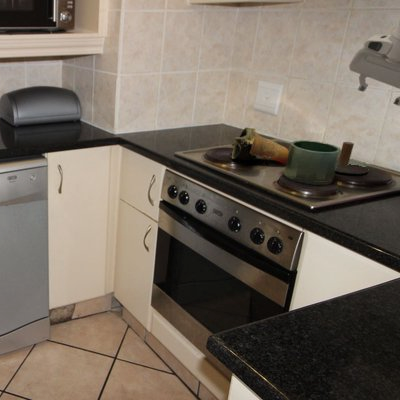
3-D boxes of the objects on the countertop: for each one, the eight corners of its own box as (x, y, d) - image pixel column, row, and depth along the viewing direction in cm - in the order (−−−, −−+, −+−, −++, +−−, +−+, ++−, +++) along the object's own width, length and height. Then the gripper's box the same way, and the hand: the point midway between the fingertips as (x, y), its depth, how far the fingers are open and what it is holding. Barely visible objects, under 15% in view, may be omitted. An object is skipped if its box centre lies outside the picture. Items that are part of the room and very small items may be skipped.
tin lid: (372, 169, 148) (380, 143, 145) (359, 179, 139) (367, 152, 136) (325, 159, 157) (331, 134, 154) (310, 167, 148) (316, 142, 145)
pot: (304, 140, 141) (244, 119, 143) (288, 176, 142) (229, 154, 144) (284, 144, 158) (231, 125, 160) (270, 176, 159) (218, 156, 161)
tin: (338, 178, 140) (346, 147, 136) (323, 188, 132) (332, 155, 128) (293, 167, 148) (300, 138, 144) (276, 176, 140) (283, 145, 136)
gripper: (455, 60, 117) (424, 109, 126) (370, 32, 128) (347, 79, 138) (446, 67, 114) (414, 117, 123) (359, 38, 126) (337, 86, 135)
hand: (378, 97), depth 130 cm, fingers open, 8 cm apart
